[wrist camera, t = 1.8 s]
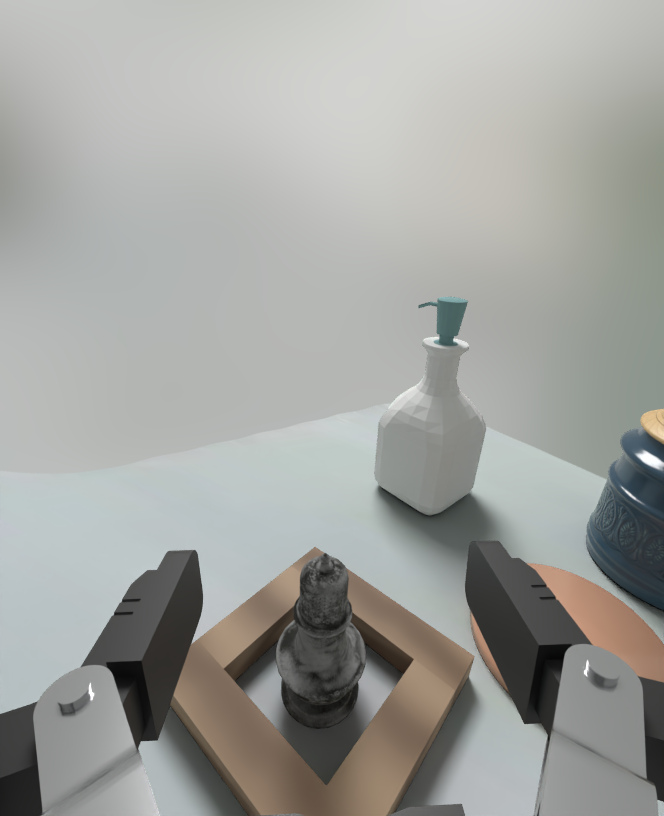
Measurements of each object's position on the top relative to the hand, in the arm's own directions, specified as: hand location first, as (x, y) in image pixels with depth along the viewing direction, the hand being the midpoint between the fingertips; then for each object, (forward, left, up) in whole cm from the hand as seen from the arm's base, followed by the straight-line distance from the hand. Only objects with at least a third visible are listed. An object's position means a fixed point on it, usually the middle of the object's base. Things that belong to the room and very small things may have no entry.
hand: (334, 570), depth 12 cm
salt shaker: (+6, +6, -20) cm, 22 cm away
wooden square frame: (+6, +6, -20) cm, 21 cm away
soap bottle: (+31, +12, -20) cm, 39 cm away
